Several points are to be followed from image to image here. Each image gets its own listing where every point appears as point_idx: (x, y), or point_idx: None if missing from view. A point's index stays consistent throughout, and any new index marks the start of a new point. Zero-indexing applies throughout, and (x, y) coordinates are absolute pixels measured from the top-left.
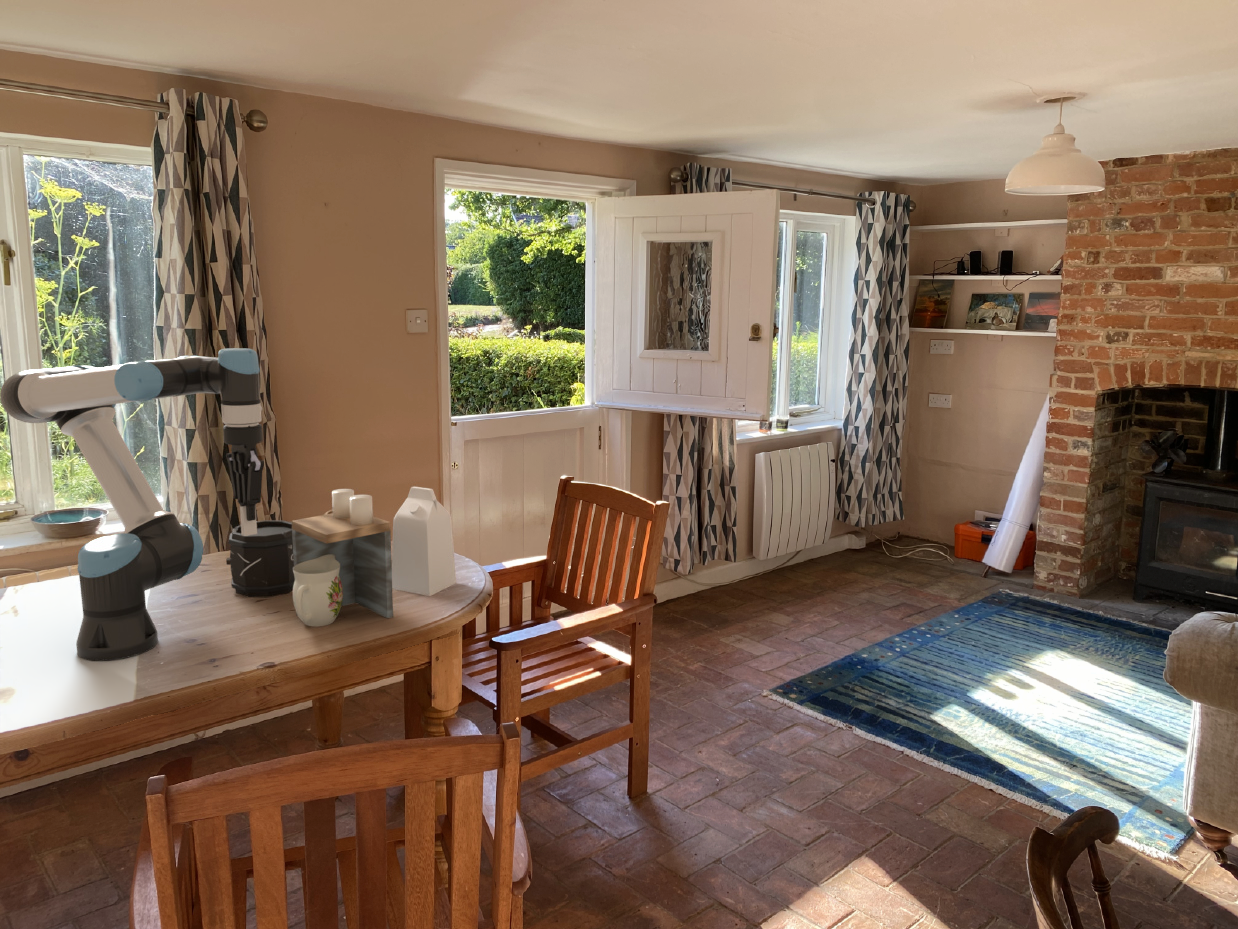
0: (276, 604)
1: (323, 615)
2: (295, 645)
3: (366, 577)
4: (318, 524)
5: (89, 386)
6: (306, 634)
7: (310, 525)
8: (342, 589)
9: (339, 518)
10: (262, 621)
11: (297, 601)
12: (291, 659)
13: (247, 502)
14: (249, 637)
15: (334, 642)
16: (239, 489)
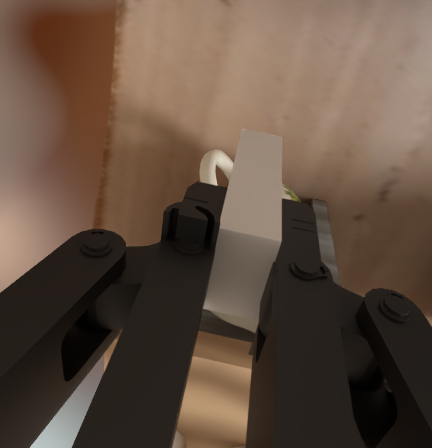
0: (420, 222)
1: None
2: (186, 93)
3: (229, 331)
4: (236, 395)
5: None
6: (221, 146)
7: (247, 380)
8: None
9: (241, 446)
10: (368, 142)
11: (204, 162)
12: (124, 35)
13: (95, 236)
14: (313, 60)
15: (141, 149)
16: (275, 366)
